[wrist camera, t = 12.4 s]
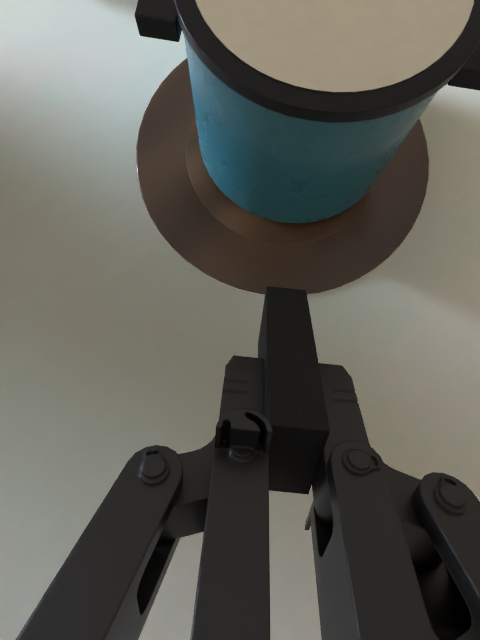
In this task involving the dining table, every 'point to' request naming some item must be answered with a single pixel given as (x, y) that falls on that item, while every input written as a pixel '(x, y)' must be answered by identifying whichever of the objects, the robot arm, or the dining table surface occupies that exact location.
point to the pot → (312, 90)
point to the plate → (259, 233)
